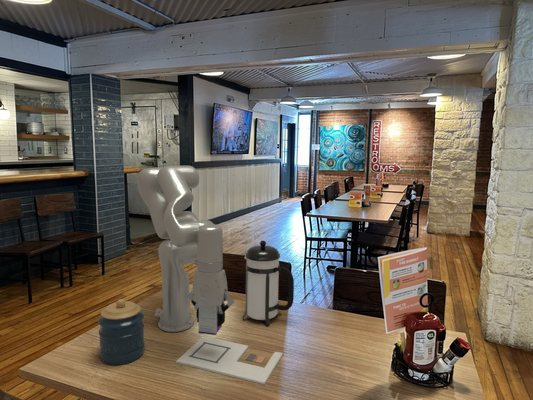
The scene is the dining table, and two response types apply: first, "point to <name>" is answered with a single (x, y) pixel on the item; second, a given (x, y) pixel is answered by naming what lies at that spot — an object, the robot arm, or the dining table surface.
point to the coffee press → (265, 283)
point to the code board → (228, 360)
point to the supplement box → (207, 318)
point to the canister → (121, 333)
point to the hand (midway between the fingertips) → (210, 322)
